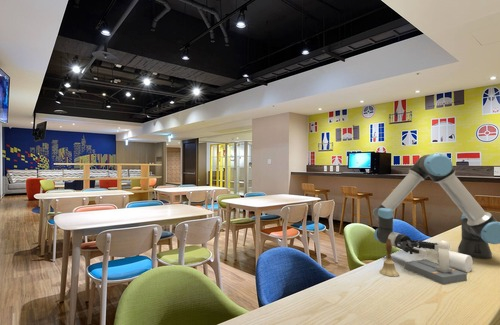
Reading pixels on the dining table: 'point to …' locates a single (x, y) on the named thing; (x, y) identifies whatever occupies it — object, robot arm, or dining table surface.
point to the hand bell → (389, 262)
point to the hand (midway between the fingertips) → (437, 252)
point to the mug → (460, 261)
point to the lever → (443, 257)
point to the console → (434, 272)
